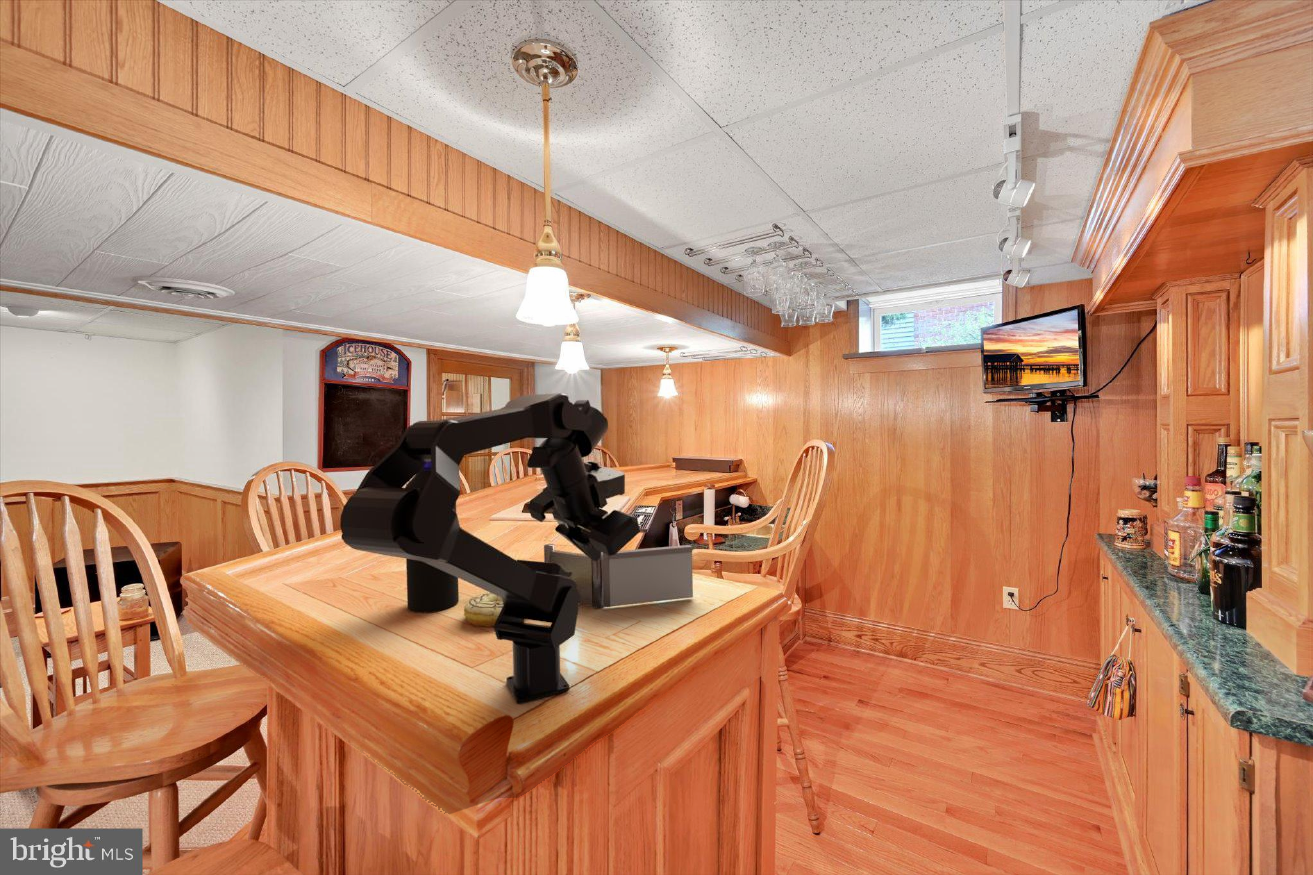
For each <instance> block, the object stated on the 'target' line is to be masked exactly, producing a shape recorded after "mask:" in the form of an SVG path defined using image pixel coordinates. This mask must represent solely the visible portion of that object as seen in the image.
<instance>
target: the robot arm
mask: <svg viewBox="0 0 1313 875" xmlns="http://www.w3.org/2000/svg"><path fill="white" fill-rule="evenodd" d="M608 429H609V422H608V419H607V417H605V415H604V413H602V411H600V410H599V409H597V408H596V407H593V406H591V404H590V400H589V399H579V400H578V399H577V400H575V402H574V403H572V402H571V401H570V400H569V396H568V395H567V394H566V393H561V392H560V393H558V392H556V393H543V394H542V393H541V394H538V393H537V394H524V395H521V396H518V397H516V398H513V399H511V400H509V401H507V402H506V404H505V405H504V406H503V407H501V408H498V409H493V410H487V411H483V412H482V411H481V412H475V413H470V414H465V415H464V414H463V415H459V416H453V417H449V418H444V419H438V420H437V419H436V420H435V419H434V420H418V421H416V422H414V423H413V424H410V425H409V426H407V428H406V429H405V430H404V432H403V434H402V435H401V437H400V439H399V441H398V442H397V444H396V445H395V446H394V447H393V448H392V449H391V450H390V451H389V452H388V453H386V454H385V455H384V456H383V457H382V458H381V459H380V460H379V461H378V462H377V463H375V464H374V465H373V466H372V468H370V469H369V470H368V471H367V473H365V475H364V477H363V479H362V480H361V482H360V484H359V485H358V487H357V489H356V491H355V492H354V493H353V494H352V495H351V496H349V498H348V500H347V501H346V502H345V504H344V505H343V509H342V511H341V514H340V521H339V522H340V523H339V525H340V526H339V527H340V531H341V540H342V541H343V542H344V543H345V544H346V545H347V546H348V547H349V548H352V549H353V550H355V551H361V552H365V553H366V552H367V553H372V554H376V555H383V556H388V557H394V558H400V559H405V560H406V559H412V560H419V561H423V562H425V563H427V564H429V565H431V566H434V567H436V568H438V569H440V570H442V571H444V572H447V573H449V574H451V575H453V576H455V577H458V579H460V580H462V581H465V582H467V583H468V584H471V585H474V586H475V587H478V588H479V589H482V590H484V591H486V592H487V593H492V594H495V595H497V596H499V597H501V598H502V602H503V607H502V610H501V612H500V614H499V616H498V618H497V620H496V622H495V624H494V626H493V630H494V632H495V633H494V634H495V636H496V639H497V640H499V641H503V640H504V641H510V642H512V669H513V672H512V674H513V675H511V676H507V677H506V681H505V682H506V684H507V686H508V688H509V691H510V692H511V694H512V697H513V699H514V701H515V703H517V704H522V703H526V702H530V701H534V700H538V699H541V698H545V697H549V696H553V695H556V694H561V693H564V692H568V691H570V684H569V682H568V681H567V680H566V679H565V677H564V676H563V674H562V673H561V655H560V654H561V653H560V652H561V650H560V649H561V648H560V646H561V645H562V644H564V643H565V642H567V641H568V640H569V639H570V638H573V636H575V632H576V627H577V620H578V614H579V613H578V612H579V607H580V604H579V600H580V596H579V591H578V589H577V585H576V582H575V581H574V580H573V579H572V578H570V576H571V575H572V572H567V571H564V570H563V569H562V568H561V566H559V565H558V564H556V563H549V562H544V561H535V560H528V559H527V560H525V559H515V558H513V557H511V556H510V555H508V554H506V553H504V552H503V551H501V550H499V549H497V548H496V547H494V546H492V545H491V544H489V543H487V542H486V541H484V540H482V539H480V538H479V537H477V536H475V535H473V534H472V533H470V532H468V531H467V530H465V529H463V528H462V527H461V526H460V522H459V517H458V514H457V510H456V511H455V510H454V509H453V508H454V505H455V503H456V504H457V501H458V499H459V496H460V495H461V494H460V493H461V483H460V482H461V479H460V465H461V463H462V460H463V459H464V456H467V455H471V454H473V453H477V452H481V451H485V450H488V449H493V448H495V447H498V446H499V447H500V446H502V445H507V444H509V443H514V442H516V441H520V440H525V439H526V440H527V439H529V440H530V439H544V440H543V441H542V442H541V443H540V444H539V446H533V447H532V448H531V453H530V456H529V457H528V459H527V463H526V466H527V468H528V469H540V472H541V473H542V476H543V478H544V481H545V484H546V486H545V487H544V488H542V491H541V492H540V493H538V494H536V496H534V497H533V498H532V499H530V501H529V504H528V507H527V509H528V510H527V511H528V512H529V514H530V517H531V518H532V519H533V520H536V521H538V522H540V523H543V522H544V521H545V520H546V518H547V516H546V512H547V511H548V510H550V509H551V510H553V511H551V515H552V516H553V517H552V518H553V520H555V521H556V522H557V526H555V528H554V530H555V532H557V533H558V535H560V536H562V537H563V538H564V539H566V540H567V541H569V542H570V544H572V545H573V546H575V548H577V549H578V550H580V551H581V553H582V554H585V555H587V556H588V557H589V558H590V559H591V560H593V561H595V562H596V561H598V560H599V559H600V557H601V552H602V553H604V554H606V555H608V556H611V555H615V554H616V553H617V552H618V551H622V549H623V548H624V547H625V546H626V545H627V544H629V542H630V541H632V540H633V539H634V538H635V537H636V536H637V535H639V534H640V532H641V527H640V524H639V520H638V517H635V516H633V515H631V514H629V513H627V512H623V511H621V510H618V509H613V510H612V511H611V512H608V511H607V510H605V509H603V508H604V507H605V506H607V505H608V501H607V499H611V498H614V497H617V496H619V495H620V496H622V495H623V496H624V494H626V473H625V472H624V471H622V470H618V469H614V468H612V467H606V466H602V465H600V466H599V464H598V462H596V461H592V460H589V459H588V460H586V461H584V459H583V458H586V457H588V456H590V454H591V453H592V452H593V451H594V449H596V447H597V445H598V444H599V443H600V441H602V439H603V437H604V436H606V433H608V432H607V431H609V430H608ZM427 461H431V475H430V477H429V479H428V481H427V483H426V485H425V487H424V488H405V486H406V485H407V484H408V483H409V482H410V481H411V480H412V478H413V477H414V476H415V475H416V474H417V473H418V472H419V471H420V470H421V469H422V468H423V467H424V465H425V464H426V462H427ZM525 620H530V621H537V622H542V623H550V625H545V624H539V623H538V624H537V623H530V622H525Z"/></svg>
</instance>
